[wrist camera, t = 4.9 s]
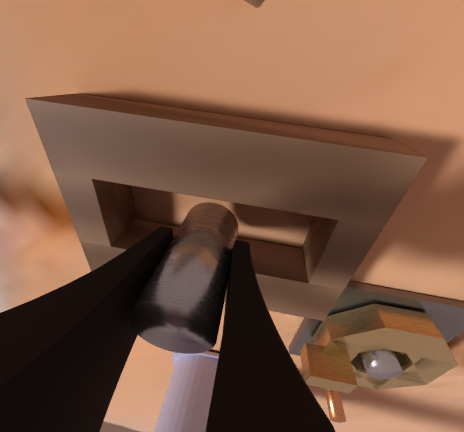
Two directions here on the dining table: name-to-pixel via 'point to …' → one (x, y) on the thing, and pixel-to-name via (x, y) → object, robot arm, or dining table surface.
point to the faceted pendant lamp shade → (373, 338)
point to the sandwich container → (255, 2)
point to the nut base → (382, 360)
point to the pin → (189, 284)
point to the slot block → (227, 184)
